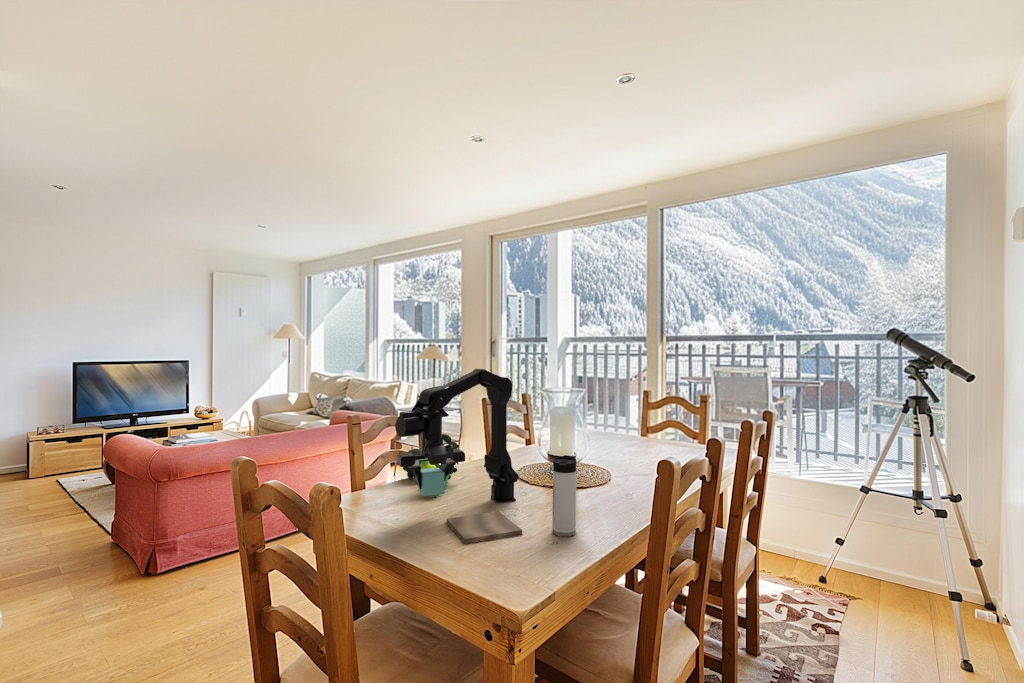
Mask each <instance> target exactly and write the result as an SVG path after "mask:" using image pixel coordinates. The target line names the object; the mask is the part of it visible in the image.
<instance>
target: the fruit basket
mask: <svg viewBox="0 0 1024 683" xmlns="http://www.w3.org/2000/svg"><path fill="white" fill-rule="evenodd" d="M420 466H421V469H431V468H436V466H435V465H431V464H429V461H423V462H421V464H420ZM448 478H449V474H447V477H446V480H445V483H444V491H445V490H446V489H447V484H448V481H449V480H448ZM429 496H436V497H435V498H438V497H440V495H439V494H438V495H429ZM437 496H438V497H437Z"/></svg>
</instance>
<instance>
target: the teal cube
mask: <svg viewBox="0 0 1024 683" xmlns="http://www.w3.org/2000/svg"><path fill="white" fill-rule="evenodd" d="M444 474H445V473H444V472H443V471H442V470H441V469H440V468H431V469H421V482H422V487H421V489H419V486H418V485H417V486H418V488H417V489H418V491H419V492H418V493H420V494H421V496H422V497H427V496H429V495H438V494H440V495H443V494H444V495H445V490H444Z"/></svg>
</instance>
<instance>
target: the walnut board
mask: <svg viewBox="0 0 1024 683" xmlns="http://www.w3.org/2000/svg"><path fill="white" fill-rule="evenodd" d="M445 522H446V525H448V527H450V529H451V528H452V529H453V530H454V531H453V530H452V531H453V532H454V533H455V534H456V536H459V537H460V538H459V537H458V538H459V539H460V540H461V542H463V543H464V544H465V545H466V543H467V544H472V542H473V543H477V541H479V542H485V541H491V540H496V539H497V538H498V539H503V538H508V537H515V535H516V536H519V535H520V536H521V534H522V535H523V529H522V528H520V526H518V525H517V524H516V523H514V522H513V521H512V520H511V519H509V518H508V517H507V516H506V515H504V514H503V513H502V512H501V511H499V510H498V511H491V512H482V513H476V514H469V515H463V516H462V515H461V516H455V517H448V518H447V517H446V519H445ZM484 540H485V541H484Z"/></svg>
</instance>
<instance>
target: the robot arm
mask: <svg viewBox="0 0 1024 683" xmlns="http://www.w3.org/2000/svg"><path fill="white" fill-rule="evenodd" d="M478 385H480V386H481V387H483V388H484V389H485V390H486V397H487V399H488V400H489V402H490V406H491V411H490V412H491V413H490V415H491V418H490V419H491V420H490V421H491V422H490V423H491V425H490V426H491V428H490V434H491V439H490V442H491V443H490V444H491V445H490V446H491V447H490V450H489V452H488V454H484V465H483V468H485V471H486V473H487V474H488V477H489V479H490V480H492V484H491V485H490V486H491V487H490V499H492V500H493V502H496V503H497V504H500V503H501V504H503V503H510V502H515V501H517V498H516V497H515V483H517V482H518V480H519V476H520V475H519V474H518V473H517V471H516V470H515V469H514V468H513V464H512V459H511V455H510V453H509V452H508V449H507V446H508V445H507V442H508V440H507V439H508V438H507V437H508V436H507V432H508V430H507V426H508V424H507V422H508V421H507V420H508V419H507V418H508V417H507V416H508V415H507V414H508V413H507V412H508V408H507V407H508V406H507V405H508V404H509V401H510V400H511V398H512V394H513V393H512V392H513V382H512V380H511V379H510V378H508V377H506V376H500V375H499V374H498V375H497V374H495V373H494V372H493V373H492V372H490V371H488V370H487V369H485V368H475V369H473V370H472V371H470V372H468V373H466V374H464V375H461V376H460V377H458V378H456V379H454V380H451V381H449V382H448V383H446V384H443V385H438V386H432V387H429V388H425V389H423V390H421V391H420V394H419V396H418V400H416V402H415V403H414V406H413V407H412V409H411V410H410V411H400V412H399V413H398V414H399V416H398V417H397V419H396V422H395V424H394V428H395V433H396V435H397V437H399V438H406V437H413V436H415V437H416V436H420V440H421V454H422V455H415V456H414V455H413V454H412V453H411V452H410V453H407V452H405V453H400V452H398V455H397V456H396V457H397V458H396V463H397V465H399V467H400V468H403V467H409V468H410V469H412V470H413V472H414V475H415V479H416V483H417V486H419V489H421V487H422V482H421V466H420V465H419V462H423V461H429V464H431V465H436V464H439V465H441V470H442V471H443V472H444V473H445V474H444V483H445V480H446V477H447V474H448V472H449V470H450V468H451V467H452V466H453V465H454V466H457V463H455V462H458V463H464V462H466V453H465V451H463V450H461V449H459V448H457V449H454V447H453V445H448V444H446V445H445V444H444V440H443V438H442V434H443V418H446V417H449V413H448V412H446V410H445V409H444V408H445V407H446V406H447V405H449V404H450V403H451V401H452V399H454V398H455V397H457V396H459V395H462V394H463V393H465V392H467V391H469V390H471V389H473V388H474V387H477V386H478Z"/></svg>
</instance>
